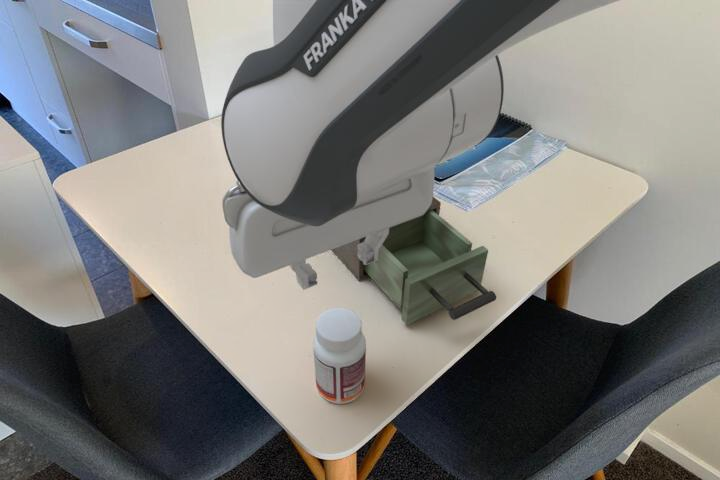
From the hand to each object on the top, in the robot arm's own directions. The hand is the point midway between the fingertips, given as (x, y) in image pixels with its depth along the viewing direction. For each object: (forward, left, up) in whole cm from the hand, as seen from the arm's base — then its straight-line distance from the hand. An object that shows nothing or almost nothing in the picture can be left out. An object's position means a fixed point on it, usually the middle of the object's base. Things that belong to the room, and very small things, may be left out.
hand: (338, 271), depth 53 cm
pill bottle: (0, 0, -19) cm, 19 cm away
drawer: (+7, -19, -18) cm, 27 cm away
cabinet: (+22, -19, -19) cm, 35 cm away
